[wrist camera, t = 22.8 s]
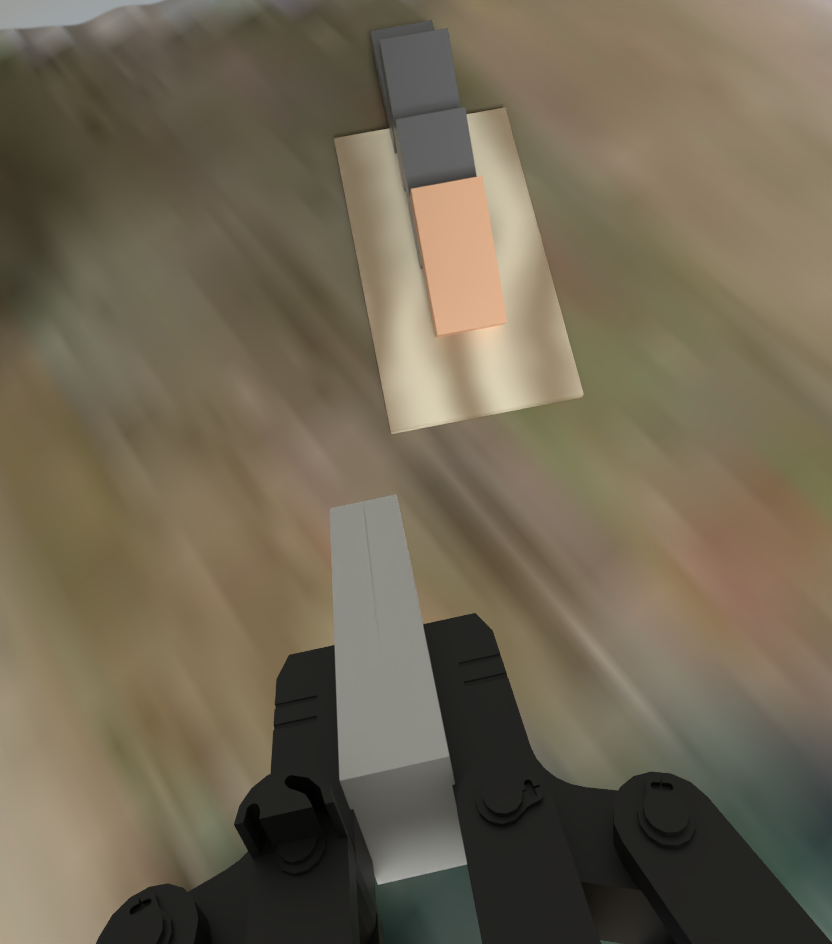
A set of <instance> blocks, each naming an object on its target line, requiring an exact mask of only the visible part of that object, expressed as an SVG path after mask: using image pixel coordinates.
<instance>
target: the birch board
mask: <svg viewBox="0 0 832 944" xmlns="http://www.w3.org/2000/svg"><path fill="white" fill-rule="evenodd" d="M466 115H467V121H468V127H469V133H470V139H471V145H472V151H473V157H474V163H475V169H476V175H477V177H478V176H483V181H484V187H485V193H486V199H487V205H488V211H489V217H490V223H491V229H492V235H493V241H494V247H495V253H496V259H497V265H498V270H499V276H500V282H501V288H502V294H503V300H504V306H505V312H506V318H507V323H505V324H503V325H500V326H495V327H489V328H484V329H479V330H474V331H468V332H463V333H458V334H452V335H447V336H442V337H437V338H435V333H434V327H433V322H432V316H431V311H430V305H429V300H428V295H427V289H426V284H425V278H424V273H423V269H420V266H419V260H418V255H417V249H416V244H415V238H414V233H413V227H412V222H411V216H410V211H409V205H408V200H407V194H406V191H405V192H404V188H403V182H402V176H401V171H400V165H399V160H398V154H397V153H394V148H393V144H392V139H391V134H390V130H389V128H388V129H383V130H377V131H372V132H366V133H361V134H355V135H350V136H344V137H339V138H334V142H335V147H336V152H337V157H338V162H339V167H340V173H341V178H342V183H343V188H344V193H345V198H346V203H347V209H348V214H349V219H350V224H351V229H352V234H353V239H354V245H355V250H356V255H357V260H358V265H359V270H360V275H361V281H362V286H363V291H364V296H365V301H366V306H367V311H368V317H369V322H370V327H371V332H372V337H373V342H374V347H375V353H376V358H377V363H378V368H379V373H380V378H381V383H382V389H383V394H384V399H385V404H386V409H387V414H388V419H389V425H390V430H391V434H394V433H399V432H405V431H410V430H415V429H420V428H425V427H431V426H436V425H441V424H446V423H451V422H456V421H462V420H467V419H472V418H477V417H482V416H488V415H493V414H498V413H503V412H508V411H513V410H519V409H524V408H529V407H534V406H539V405H545V404H550V403H555V402H560V401H565V400H570V399H576V398H581V397H582V396H583V395H584V394H583V390H582V387H581V383H580V379H579V376H578V372H577V368H576V365H575V361H574V357H573V354H572V350H571V346H570V343H569V339H568V335H567V332H566V328H565V324H564V321H563V317H562V314H561V310H560V306H559V303H558V299H557V295H556V292H555V288H554V284H553V281H552V277H551V273H550V270H549V266H548V262H547V259H546V255H545V251H544V248H543V244H542V240H541V237H540V233H539V229H538V226H537V222H536V218H535V215H534V211H533V208H532V204H531V200H530V197H529V193H528V189H527V186H526V182H525V178H524V175H523V171H522V167H521V164H520V160H519V156H518V153H517V149H516V145H515V142H514V138H513V134H512V131H511V127H510V123H509V120H508V116H507V113H506V109H505V108H499V109H494V110H488V111H483V112H477V113H471V114H466Z"/></svg>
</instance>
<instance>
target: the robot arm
mask: <svg viewBox="0 0 832 944" xmlns="http://www.w3.org/2000/svg"><path fill="white" fill-rule="evenodd" d="M330 533H331V560H332V588H333V615H334V642H335V645H333V646H328V647H324V648H319V649H314V650H310V651H305V652H300V653H296V654H291V655H289V656H288V658H287V660H286V662H285V664H284V666H283V668H282V670H281V672H280V674H279V676H278V677H277V681H276V697H275V706H276V709H275V713H274V730H273V744H272V760H271V774H270V775H267V776H266V777H265V778H264V779H262V780H261V781H260V782H259V783H257V784H256V785H255V786H254V787H253V788H251V790H250V791H249V793H248V794H247V796H246V797H245V798H244V800H243V801H242V803H241V804H240V806H239V809H238V813H237V816H236V820H235V823H234V826H235V827H236V829H237V831H238V833H239V835H240V837H241V838H242V840H243V842H244V844H245V846H246V848H247V849H248V852H247V853H246V854H245V855H244V856H243V857H242V858H241V859H240V860H239V861H238V862H236V863H235V864H234V865H232V866H231V867H229V868H228V869H227V870H225V871H223V872H222V873H220V874H218V875H216V876H215V877H213V878H211V879H210V880H208V881H206V882H204V883H203V884H201V885H199V886H197V887H196V888H194V889H192V890H191V891H189V892H187V891H186V890H185V889H184V888H182V887H178V886H175V885H171V884H163V885H157V886H152V887H148V888H146V889H145V890H143V891H141V892H139V893H138V894H136V895H134V896H132V897H131V898H129V899H128V900H127V901H126V902H125V903H124V904H123V905H122V906H121V907H120V908H119V909H118V910H117V911H116V912H115V913H114V914H113V915H112V916H111V918H110V920H109V921H108V923H107V925H106V926H105V928H104V930H103V931H102V933H101V935H100V936H99V938H98V940H97V943H96V944H384V935H383V926H382V923H381V919H380V915H379V912H378V909H377V906H376V898H375V884H374V875H375V878H376V881H377V883H378V885H379V884H383V883H388V882H392V881H396V880H401V879H405V878H410V877H414V876H418V875H423V874H427V873H431V872H436V871H440V870H445V869H449V868H453V867H458V866H462V865H466V864H467V866H468V871H469V876H470V881H471V887H472V892H473V897H474V902H475V907H476V912H477V918H478V923H479V928H480V933H481V938H482V943H483V944H601V942H600V940H603V941H610V942H616V943H622V944H832V942H831V941H830V940H829V939H828V938H827V937H826V935H825V934H824V933H823V932H822V931H821V930H820V928H819V927H818V926H817V925H816V924H815V922H814V921H813V920H812V919H811V918H810V917H809V915H808V914H807V913H806V912H805V911H804V910H803V908H802V907H801V906H800V905H799V904H798V903H797V901H796V900H795V899H794V898H793V897H792V895H791V894H790V893H789V892H788V891H787V890H786V888H785V887H784V886H783V885H782V884H781V883H780V881H779V880H778V879H777V878H776V877H775V876H774V874H773V873H772V872H771V871H770V870H769V868H768V867H767V866H766V865H765V864H764V863H763V861H762V860H761V859H760V858H759V857H758V856H757V854H756V853H755V852H754V851H753V850H752V849H751V847H750V846H749V845H748V844H747V843H746V841H745V840H744V839H743V838H742V837H741V836H740V834H739V833H738V832H737V831H736V830H735V829H734V827H733V826H732V825H731V824H730V823H729V822H728V820H727V819H726V818H725V817H724V816H723V814H722V813H721V812H720V811H719V810H718V809H717V807H716V806H715V805H714V804H713V803H712V802H711V800H710V799H709V798H708V797H707V796H706V795H705V794H704V793H703V792H701V791H700V790H699V789H698V788H697V787H696V786H694V785H693V784H692V783H691V782H689V781H687V780H684V779H682V778H680V777H678V776H675V775H673V774H670V773H660V772H648V773H644V774H640V775H637V776H633V777H632V778H631V779H630V780H628V781H627V782H626V783H625V784H623V785H622V786H621V787H620V789H619V791H617V790H607V789H598V788H588V787H582V786H577V785H573V784H569V783H567V782H565V781H563V780H560V779H558V778H556V777H555V776H554V775H552V774H551V773H550V772H548V771H547V770H546V769H545V768H544V767H543V766H542V765H541V764H540V762H539V761H538V760H537V759H536V757H535V755H534V753H533V751H532V749H531V746H530V743H529V740H528V737H527V734H526V731H525V728H524V725H523V722H522V719H521V716H520V713H519V710H518V707H517V704H516V701H515V698H514V694H513V691H512V688H511V685H510V682H509V679H508V677H507V674H506V670H505V667H504V664H503V661H502V658H501V656H500V652H499V649H498V646H497V643H496V639H495V636H494V633H493V631H492V630H491V629H490V628H489V626H488V625H487V624H486V623H485V622H484V621H483V620H482V619H481V618H480V617H479V616H478V615H477V614H476V613H473V614H469V615H464V616H459V617H455V618H450V619H446V620H441V621H436V622H432V623H427V624H423V619H422V614H421V609H420V604H419V599H418V594H417V589H416V584H415V580H414V575H413V570H412V565H411V561H410V556H409V551H408V547H407V542H406V537H405V532H404V528H403V523H402V518H401V513H400V509H399V504H398V499H397V494H396V495H391V496H387V497H382V498H377V499H372V500H367V501H363V502H358V503H353V504H348V505H343V506H339V507H334V508H330Z"/></svg>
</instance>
